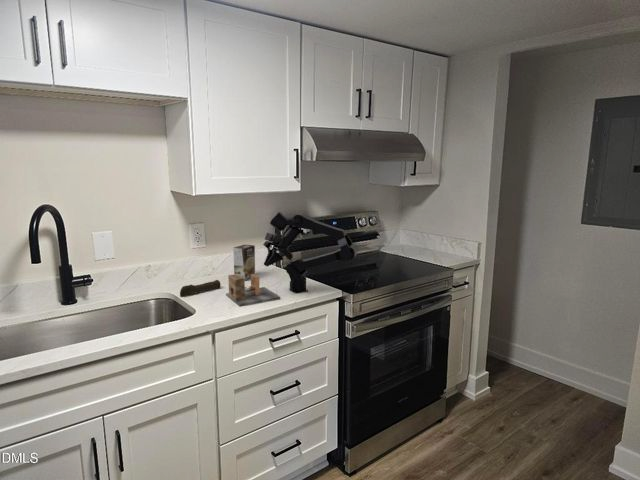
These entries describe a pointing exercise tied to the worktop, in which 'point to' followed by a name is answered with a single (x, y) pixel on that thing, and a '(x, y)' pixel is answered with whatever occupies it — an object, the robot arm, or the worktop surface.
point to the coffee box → (244, 261)
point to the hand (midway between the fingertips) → (265, 265)
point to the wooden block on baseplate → (247, 298)
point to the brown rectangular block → (254, 285)
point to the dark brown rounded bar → (199, 288)
